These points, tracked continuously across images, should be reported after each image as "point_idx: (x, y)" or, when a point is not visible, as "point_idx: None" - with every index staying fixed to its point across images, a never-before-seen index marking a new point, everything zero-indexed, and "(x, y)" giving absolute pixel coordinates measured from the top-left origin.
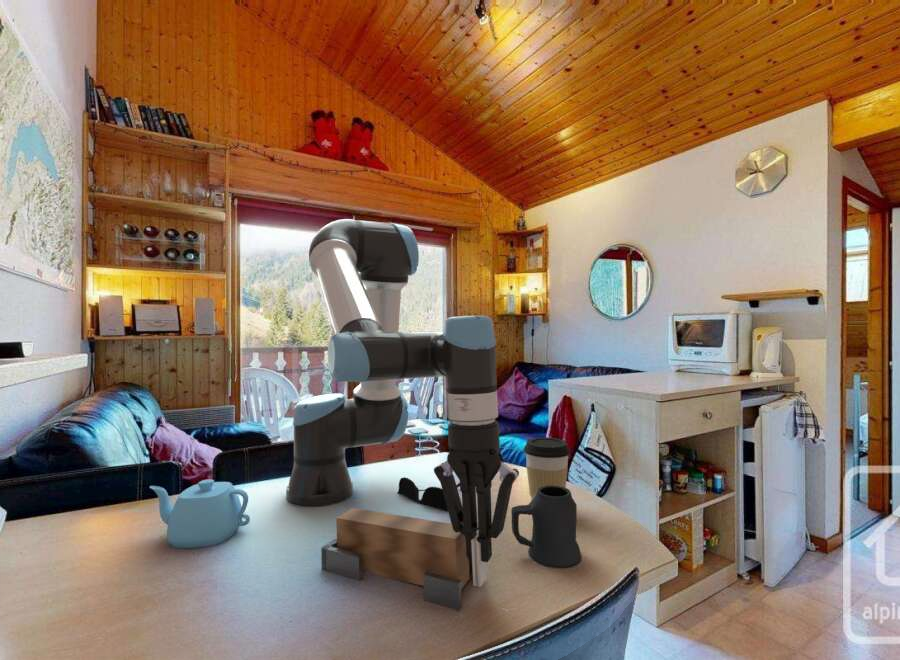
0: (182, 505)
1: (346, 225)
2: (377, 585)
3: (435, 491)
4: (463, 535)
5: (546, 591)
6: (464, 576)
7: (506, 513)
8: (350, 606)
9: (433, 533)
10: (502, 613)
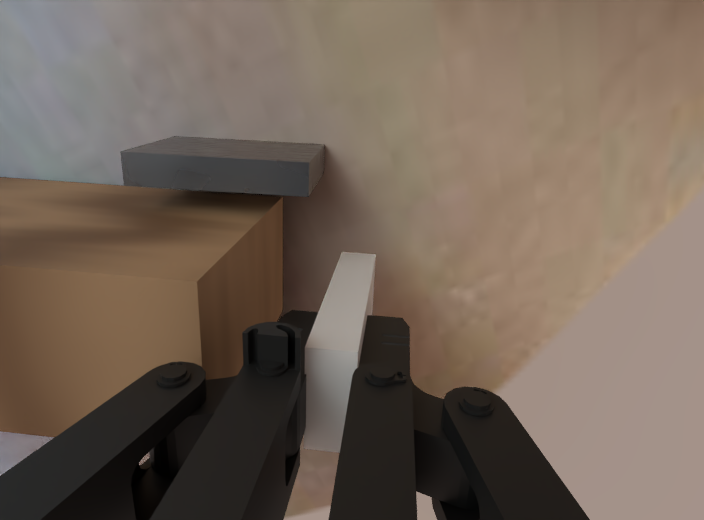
0: None
1: None
2: None
3: None
4: (213, 334)
5: (611, 128)
6: (275, 258)
7: (578, 507)
8: (5, 433)
9: (52, 422)
10: (458, 318)
